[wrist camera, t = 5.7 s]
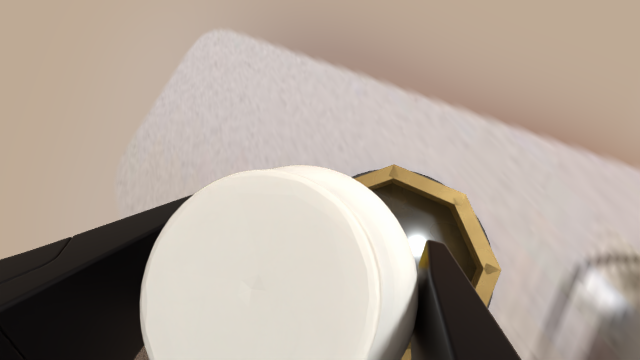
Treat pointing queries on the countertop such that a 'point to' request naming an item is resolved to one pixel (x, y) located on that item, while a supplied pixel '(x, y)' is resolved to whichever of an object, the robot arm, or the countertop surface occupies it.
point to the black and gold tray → (436, 223)
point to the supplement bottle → (280, 272)
